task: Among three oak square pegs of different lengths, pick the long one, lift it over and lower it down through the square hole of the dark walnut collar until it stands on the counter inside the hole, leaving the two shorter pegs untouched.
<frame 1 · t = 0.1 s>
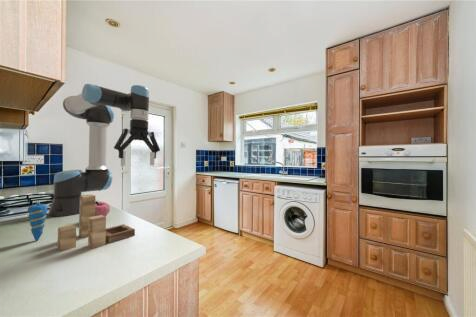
hand: (138, 165, 92), 28 cm above the countertop, fingers open, 13 cm apart
short pin: (66, 247, 69), on the countertop
medium pin: (96, 245, 72), on the countertop
collar block: (116, 236, 80), on the countertop
apple: (98, 221, 98), on the countertop
ornament: (36, 241, 74), on the countertop
long pin: (86, 235, 80), on the countertop
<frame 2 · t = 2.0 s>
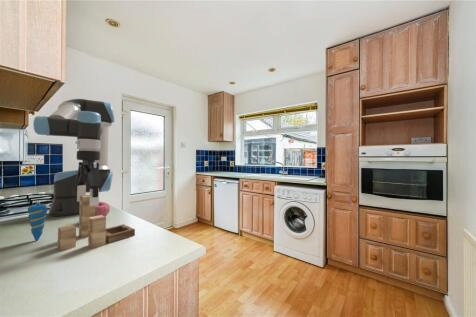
hand: (87, 203, 80), 13 cm above the countertop, fingers open, 13 cm apart
nothing on the countertop moved.
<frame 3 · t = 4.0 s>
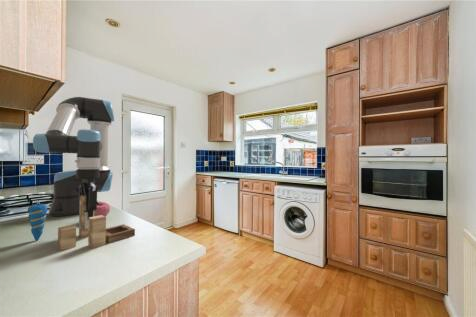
hand: (86, 226, 80), 4 cm above the countertop, fingers closed on long pin, 4 cm apart
long pin: (86, 235, 80), on the countertop, touching gripper
everything else where it was.
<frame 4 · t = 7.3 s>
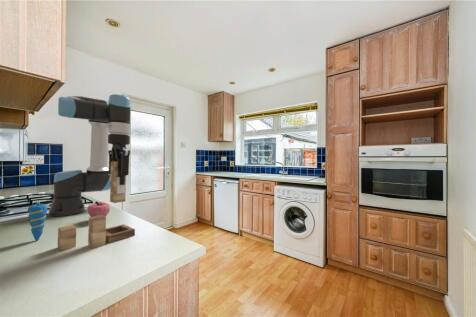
hand: (118, 192, 80), 18 cm above the countertop, fingers closed on long pin, 4 cm apart
long pin: (117, 201, 80), point 14 cm above the countertop, touching gripper
everything else where it was.
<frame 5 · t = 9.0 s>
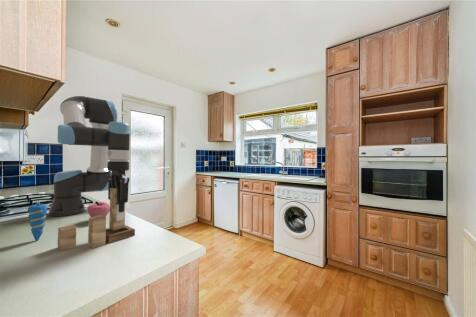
hand: (117, 218, 80), 7 cm above the countertop, fingers closed on long pin, 4 cm apart
long pin: (116, 227, 80), point 3 cm above the countertop, touching gripper
everything else where it was.
when the fingers open (5 cm above the countertop, at t = 10.6 s): long pin stays where it is, resting in collar block.
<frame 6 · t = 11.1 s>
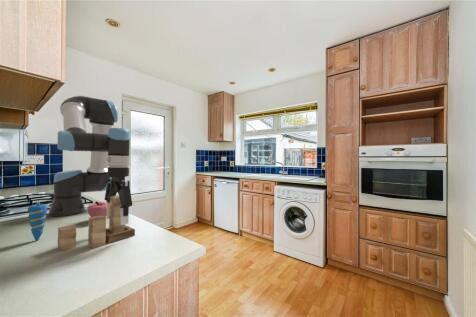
hand: (117, 221, 80), 6 cm above the countertop, fingers open, 11 cm apart
long pin: (116, 236, 80), resting in collar block
everything else where it was.
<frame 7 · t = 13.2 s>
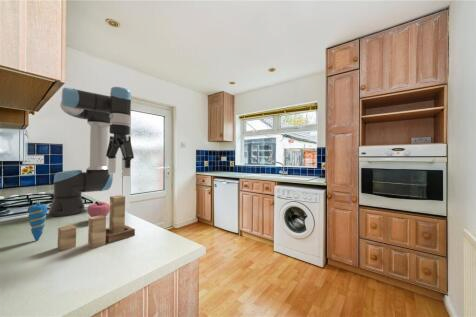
hand: (118, 174, 85), 24 cm above the countertop, fingers open, 13 cm apart
nothing on the countertop moved.
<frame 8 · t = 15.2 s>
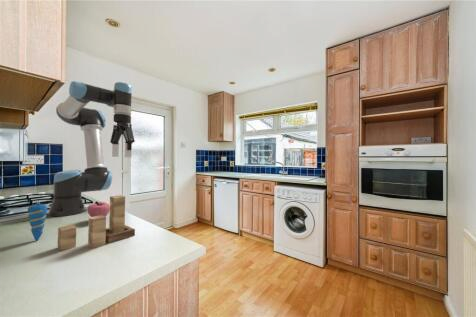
hand: (121, 157, 100), 32 cm above the countertop, fingers open, 13 cm apart
nothing on the countertop moved.
at the end: long pin 0.0 cm off-centre on the collar block, point 0.0 cm above the collar block's base; long pin tilted 0°; the gripper is holding nothing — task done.
